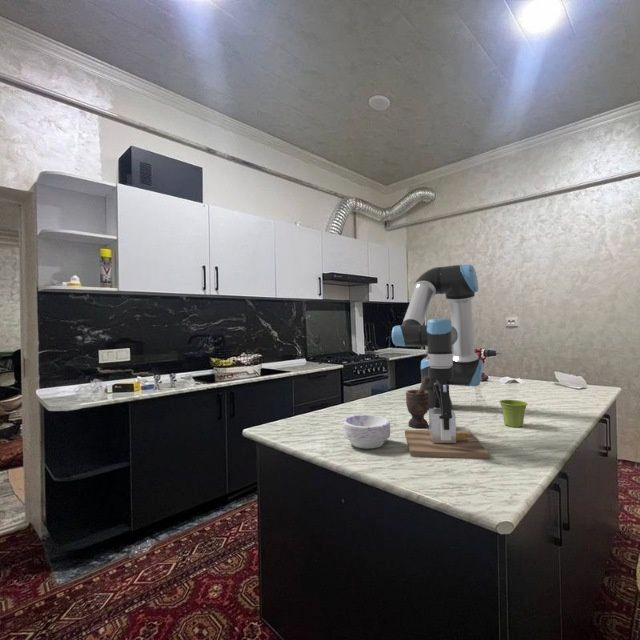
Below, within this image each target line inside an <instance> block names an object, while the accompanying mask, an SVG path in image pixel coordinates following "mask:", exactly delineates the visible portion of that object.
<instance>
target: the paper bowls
mask: <svg viewBox="0 0 640 640" xmlns="http://www.w3.org/2000/svg"><path fill="white" fill-rule="evenodd" d="M342 425H343V426H342V427H343V437H344V438H345V439H347V440H349V442H350V444H351V445H352V446H354V447H355V448H358V449H366V450H369V449H376V448H379V447H381V446H382V445H383V444H384V442H385V441H386V440H388V439H389V438H390V437H391V421H390V420H389V419H388V418H386V417H384V416H379V415H372V414H356V415H350V416H347V417H345V418H344V419H343V421H342Z"/></svg>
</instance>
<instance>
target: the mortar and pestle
mask: <svg viewBox="0 0 640 640" xmlns="http://www.w3.org/2000/svg"><path fill="white" fill-rule="evenodd" d="M430 381H431V379H429V377H428V375H426V376H424V378H423V380H422V383H421V382H420V383H421V384H420V387H419V389H418V388H417V389H409V390H406V392H405V404H406V407H407V408H406V409H407V412H408V413H409V414H410V415H411V419H409V420H408V424H407V425H408V426H409V427H410V428H418V429H419V428H420V429H421V428H422V429H425V428H429V423H428V421H427V420H426V419H425V415H427V413H428V412H429V410H428V408H429V392H428V391H426V388H427V387H428V385H429V383H430Z"/></svg>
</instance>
